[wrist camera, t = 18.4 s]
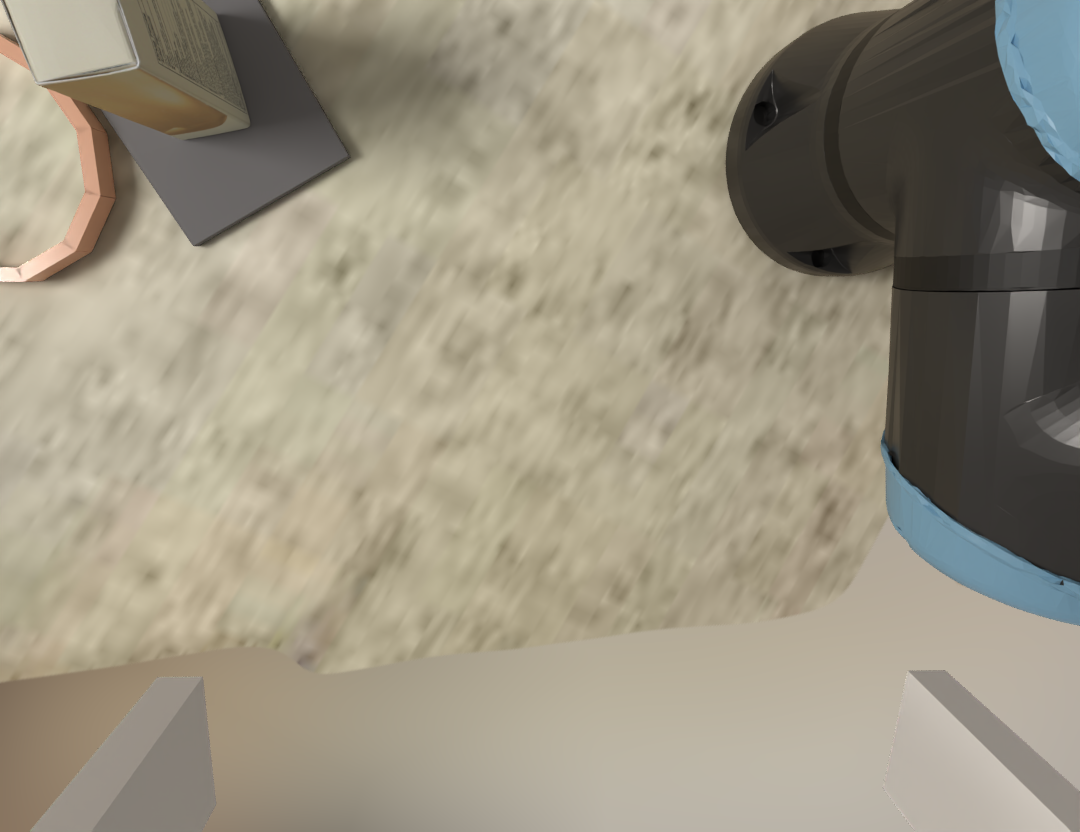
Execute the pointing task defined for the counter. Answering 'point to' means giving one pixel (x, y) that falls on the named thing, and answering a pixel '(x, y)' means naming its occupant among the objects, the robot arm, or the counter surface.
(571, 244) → the counter surface
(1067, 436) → the robot arm
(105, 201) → the pink polygonal ring
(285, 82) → the rubber mat
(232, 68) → the skincare box
